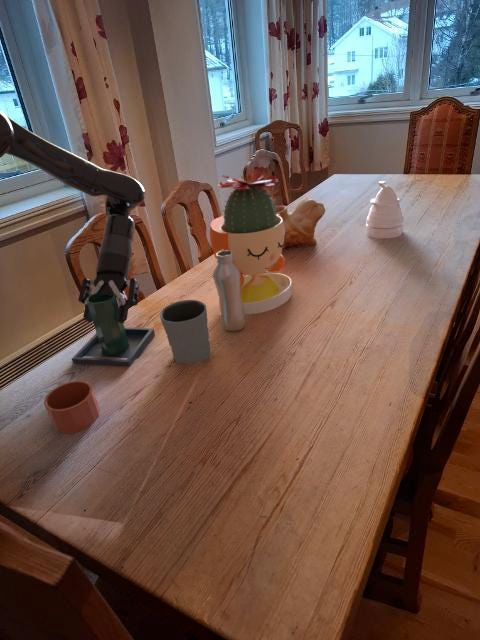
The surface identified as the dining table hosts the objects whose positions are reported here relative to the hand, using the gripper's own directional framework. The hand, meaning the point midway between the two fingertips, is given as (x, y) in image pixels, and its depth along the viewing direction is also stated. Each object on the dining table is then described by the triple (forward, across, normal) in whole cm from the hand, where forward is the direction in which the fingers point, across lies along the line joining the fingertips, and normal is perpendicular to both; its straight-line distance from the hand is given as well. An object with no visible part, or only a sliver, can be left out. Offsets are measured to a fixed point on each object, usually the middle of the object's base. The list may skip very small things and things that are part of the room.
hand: (104, 322), depth 100 cm
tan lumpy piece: (-46, +34, +59) cm, 82 cm away
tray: (+5, 0, +7) cm, 9 cm away
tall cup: (+5, 0, +7) cm, 8 cm away
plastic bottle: (-3, +27, +16) cm, 31 cm away
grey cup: (+6, +20, +6) cm, 22 cm away
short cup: (+22, +4, -10) cm, 25 cm away
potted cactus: (-16, +28, +28) cm, 43 cm away
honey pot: (-53, +67, +65) cm, 107 cm away
